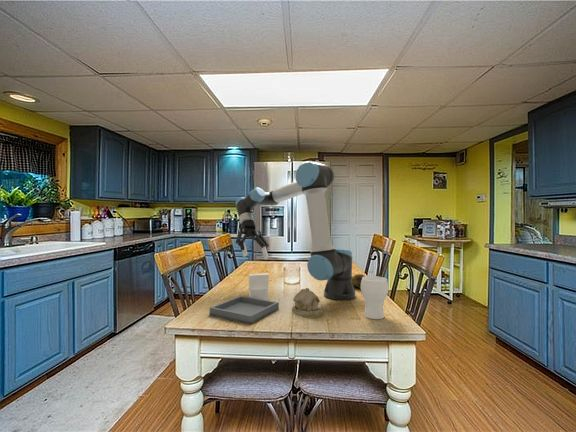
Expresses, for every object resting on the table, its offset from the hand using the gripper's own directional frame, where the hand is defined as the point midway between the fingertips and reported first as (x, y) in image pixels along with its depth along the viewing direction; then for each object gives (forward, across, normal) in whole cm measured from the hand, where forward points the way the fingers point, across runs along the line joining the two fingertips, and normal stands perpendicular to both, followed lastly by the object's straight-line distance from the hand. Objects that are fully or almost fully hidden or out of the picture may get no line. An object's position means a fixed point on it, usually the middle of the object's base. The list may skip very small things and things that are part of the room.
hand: (256, 257), depth 160 cm
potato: (+24, -49, +19) cm, 58 cm away
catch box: (+30, +18, +5) cm, 36 cm away
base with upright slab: (+22, +4, -2) cm, 23 cm away
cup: (+47, -16, +40) cm, 64 cm away
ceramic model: (+38, 0, +21) cm, 43 cm away
